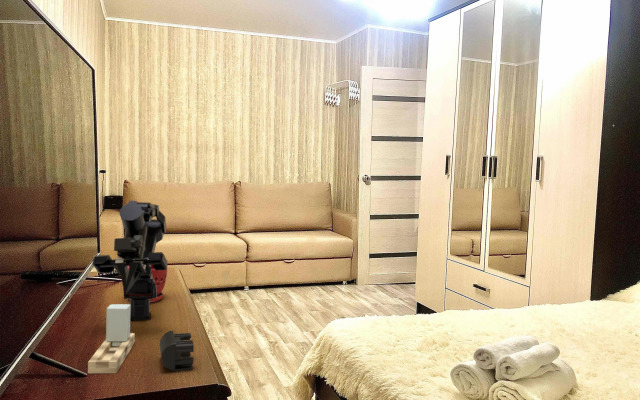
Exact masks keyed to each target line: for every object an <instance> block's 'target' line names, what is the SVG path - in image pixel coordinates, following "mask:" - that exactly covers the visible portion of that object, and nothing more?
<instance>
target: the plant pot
mask: <svg viewBox="0 0 640 400" xmlns="http://www.w3.org/2000/svg"><path fill="white" fill-rule="evenodd" d="M128 270H129V266H128ZM151 271H152V276H153V279H154V281H155V283H156V289H157V297H156V298H153V299H150V303H155V302H158V301H160V300H161V299H162V298H163V296H164V294H163V293H162V292H163V290H164V289H165V284H166V281H167V275H168V268H167V269H166V270H158V271H156V270H155V269H154V268H153V265H151ZM128 300H129V301H130V299H128Z"/></svg>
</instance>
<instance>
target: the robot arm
mask: <svg viewBox="0 0 640 400" xmlns="http://www.w3.org/2000/svg"><path fill="white" fill-rule="evenodd" d="M119 216H120V219H121V220H120V221H121V223H122V226H123V229H124V236H123V237H121V238H119V237H118V238H114V243H113V245H114V246H113V251H114V252H117V253H116V255H117V257H116V258H114V259H112V257H111V255H110V254H100V255H99V254H97V255H95V256H94V257H93V258H92V262H91V264H92V266H93V267H94V269H96V271H97V272H98V273H99V274H101V275H102V274H112V273H113V272H114V271H116V272H117V274H118V275H120V279H121V283H122V284H121V285H122V289H123V299H124V300H127V299H128V300H129V299H130V300H129V304H131V307H130V321H145V320H147V321H148V320H151V319H152V312H151V311H150V308H151V307H150V305H151V304H150V303H151V302H150V299H153V298H156V297H157V289H156V283H155V281H154V280H155V278H154V279H153V276H152V271H151V265H153V268H154V269H155V270H156V271H158V270H166V269H167V270H168V260H167V257H166V256H165V254H164V253H163V252H162V251H158V252H156V245H157V244H158V243H159V242H160V241H162V240H163V238H164V234H166V232H167V220H166V216H165V215H164V213H162V211H160V205H158V204H153V203H152V202H148V201H146V202H143V201H141V202H140V201H137V200H129V201H128V203H126V204H125V205H123V206H121V208H120V209H119ZM154 218H155V219H154ZM128 266H129V270H128Z"/></svg>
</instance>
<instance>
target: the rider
mask: <svg viewBox="0 0 640 400" xmlns="http://www.w3.org/2000/svg"><path fill="white" fill-rule="evenodd" d="M130 307H131V304H130V303H128V304H126V303H123V304H121V303H120V304H118V303H117V304H116V303H115V304H113V303H112V304H109V306H107V308H106V318H105V319H106V321H105V322H106V323H105V324H106V327H105V330H106V332H105V340H106V341H113V342H112V346H120V345H121V343H122V342H123V341H127V340H128V338H129V337H130V333H131V320H130Z"/></svg>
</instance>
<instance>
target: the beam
mask: <svg viewBox="0 0 640 400" xmlns="http://www.w3.org/2000/svg"><path fill="white" fill-rule="evenodd" d="M135 337H136V336H135V332H130V337H129V338H128V340H127V341H123V342H122V343H121V345H120V346H112V342H113V341H106V339H105V340H104V341H103V342H102V344H100V346H99V347H98V349H97V350H96V351H95V353H94V354H93V355H92V356H91V358H90V359H89V360H88V362H87V374H116V373H117V372H118V371H119V370H120V368H121V366H122V365H123V363H124V361H125V359H126V357H127V356H128V355H129V353H130V351H131V349H132V348H133V346H134V345H135Z"/></svg>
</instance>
